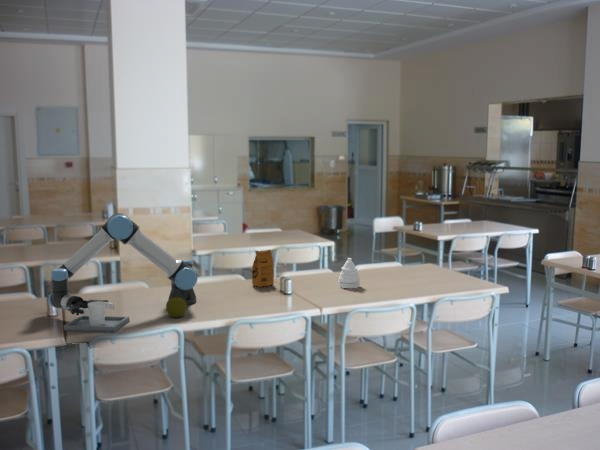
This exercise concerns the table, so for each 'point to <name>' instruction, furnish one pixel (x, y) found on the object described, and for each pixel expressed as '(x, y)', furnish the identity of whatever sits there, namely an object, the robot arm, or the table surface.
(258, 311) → the table surface
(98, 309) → the white cup
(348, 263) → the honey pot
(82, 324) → the tray
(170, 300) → the apple
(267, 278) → the coffee package
